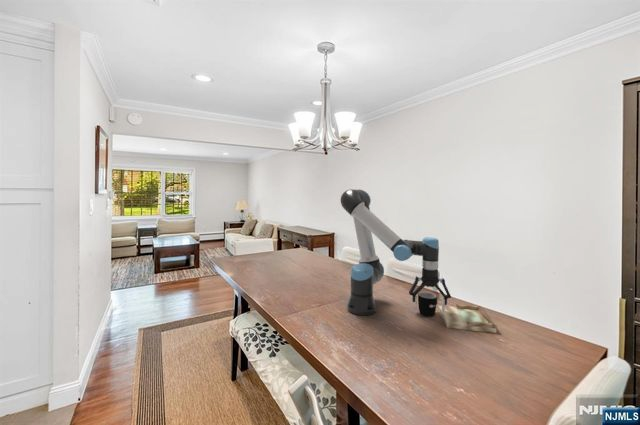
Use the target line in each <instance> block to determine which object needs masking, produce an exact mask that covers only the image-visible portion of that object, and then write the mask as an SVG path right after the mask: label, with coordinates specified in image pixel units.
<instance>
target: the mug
mask: <svg viewBox="0 0 640 425" xmlns="http://www.w3.org/2000/svg"><path fill="white" fill-rule="evenodd" d="M417 303H418V306H417V307H418V310H419V314H420V315H421V316H422V317H425V318H432V317H434V316H435V314H436V311H437V305H438V295H436V294H435V293H432V292H428V291H422V292H421V291H420V292H419V293H418V294H417Z"/></svg>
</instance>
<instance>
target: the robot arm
mask: <svg viewBox="0 0 640 425" xmlns="http://www.w3.org/2000/svg"><path fill="white" fill-rule="evenodd" d="M371 199H372V198H371V196H370V194H369V193H368V192H367V191H365V190H362V189H353V188H351V189H347V190H345V191H344V192H343V193H342V194H341V195H340V204H341V206H342V208H343V209H344V210H345V211H346V213H348V214H349V215H350V216H351V217H352V218H353V224H354V228H355V233H356V239H357V244H358V249H359V255H360V258H359V260H358V263H356V264H354V265H353V266H351V268H350V295H349V299H348V301H347V306H346V308H347V311H348V312H349V313H351V314H354V315H357V316H371V315H373V314H375V313H376V312H377V305H376V302H375V298H374V285H375V284H376V283H378V282H380V281H381V280H382V278H383V277H384V274H385V267H384V265H383V264H382V263H381V261H380V257H379V256H377V254H376V250H375V245H374V241H373V240H374V239H373V238H374V237H373V235H374V236H375V237H376V238H377V239H378V240H379V241H380V242H382V243H383V244H384V245H385V246H386V247H387V248H388V249H389V250H390V251H391V252H392V254H393V257H394V258H395V259H396V260H397V261H399V262H403V261H408V260H409V259H410V258H411V257H412V256H418V257H422V258H421V260H422V261H421V262H422V264H421V267H422V268H421V274H422V275H421V277H419V276H417V275H416V276H415V277H414V282H413V283H412V285H411V287H410V289H409V291H408V295H409V296H412V300H411V301H412V303H414V309H415V310H418V308H417V307H418V306H417V303H418V293H420V292H421V291H422V290H423V288H425V287H427V288H429V287H430V288H434V287H435V288H436V289H437V290H438V292H439V293H440V295H441V296H442V297H441V306H442V311H443V312H444V310H445V306H447V305H448V299H452V296H451V294H450V291H449V289H448V287H447V285H446V280H445V278H444V277H442V278H439V255H440V254H439V253H440V252H439V251H440V246H439V244H440V243H439V239H438V238H436V237H423V238H422V240H411V239H410V240H409V239H402V238H401V237H400V236H399V235H398V234H396V233H395V232H394V231H393V230H392V229H391V228H390V227H389V226H388V225H386V224H385V222H383V221H382V220H381V219H380V218H379V217H377V215H375V214H374V213H373V212H372V211H371V209H370V204H371V201H372V200H371ZM420 281H421V283H420V284H419V286H417V285H418V283H419V282H420ZM439 282H440V284H441V285H442V287H443V289H444V291H443V290H442V289H441V287H440V286H439V285H438V283H439ZM416 287H417V288H416Z"/></svg>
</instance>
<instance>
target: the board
mask: <svg viewBox="0 0 640 425" xmlns="http://www.w3.org/2000/svg"><path fill="white" fill-rule="evenodd" d="M438 311H439V313H440V315H441V317H442V319H443V321H444V324H445V325H446V328H448V329H457V330H465V331H476V332H485V333H492V334H497V326H498V325H497V324H496V323H495V321H494V320H493V319H492V318H491V317H490V315H488V313H487V312H486V311H485V310H484V309H483V308H482V306H479V305H468V304H456V305H455V306H447V305H445V310H444V312H443V311H442V305H438Z"/></svg>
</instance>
